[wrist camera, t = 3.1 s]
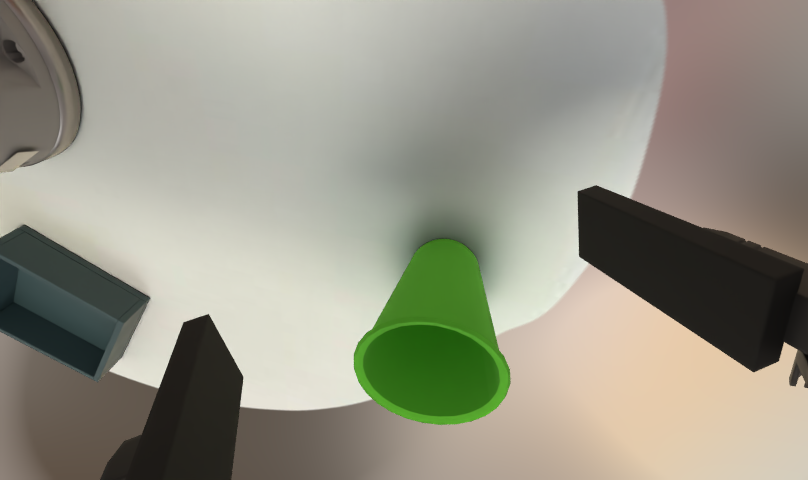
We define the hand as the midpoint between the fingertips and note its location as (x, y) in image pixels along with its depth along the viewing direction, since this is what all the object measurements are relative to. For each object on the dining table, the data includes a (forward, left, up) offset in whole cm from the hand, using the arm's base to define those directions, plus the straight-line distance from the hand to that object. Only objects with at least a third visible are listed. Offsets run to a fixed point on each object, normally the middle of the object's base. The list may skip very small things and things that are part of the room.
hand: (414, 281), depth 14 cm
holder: (-18, -38, -15) cm, 45 cm away
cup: (+7, -8, -15) cm, 19 cm away
